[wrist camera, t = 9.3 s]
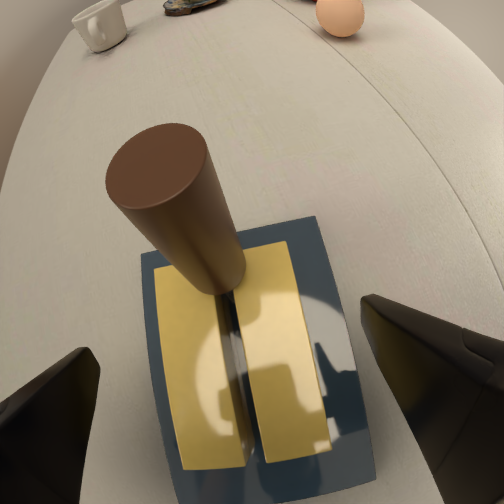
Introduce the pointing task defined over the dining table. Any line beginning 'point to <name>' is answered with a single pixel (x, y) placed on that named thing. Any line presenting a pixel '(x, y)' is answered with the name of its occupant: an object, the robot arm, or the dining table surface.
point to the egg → (340, 16)
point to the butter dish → (330, 380)
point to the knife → (179, 205)
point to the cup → (101, 25)
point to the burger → (183, 6)
